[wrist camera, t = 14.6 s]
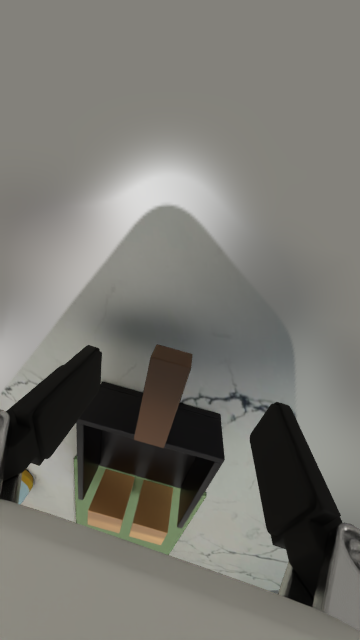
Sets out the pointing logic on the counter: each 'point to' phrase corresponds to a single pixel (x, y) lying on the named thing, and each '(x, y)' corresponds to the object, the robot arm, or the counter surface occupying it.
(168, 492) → the block
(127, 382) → the counter surface
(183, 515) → the pan
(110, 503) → the block
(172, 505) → the mat
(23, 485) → the bottle
